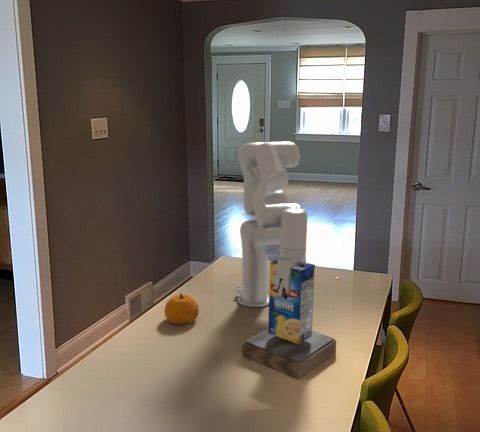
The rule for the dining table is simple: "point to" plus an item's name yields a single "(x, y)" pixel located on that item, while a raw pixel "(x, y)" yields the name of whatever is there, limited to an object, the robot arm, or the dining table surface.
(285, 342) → the podium
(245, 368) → the dining table surface
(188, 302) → the fruit
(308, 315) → the beverage box
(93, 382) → the dining table surface
